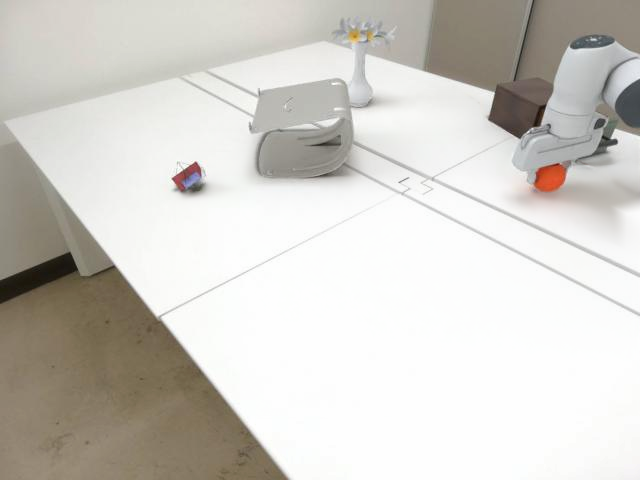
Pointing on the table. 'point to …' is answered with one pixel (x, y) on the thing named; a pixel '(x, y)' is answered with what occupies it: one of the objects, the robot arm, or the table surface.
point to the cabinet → (519, 104)
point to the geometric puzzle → (189, 176)
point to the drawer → (606, 135)
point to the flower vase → (361, 54)
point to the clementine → (550, 177)
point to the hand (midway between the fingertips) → (546, 178)
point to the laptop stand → (295, 147)
